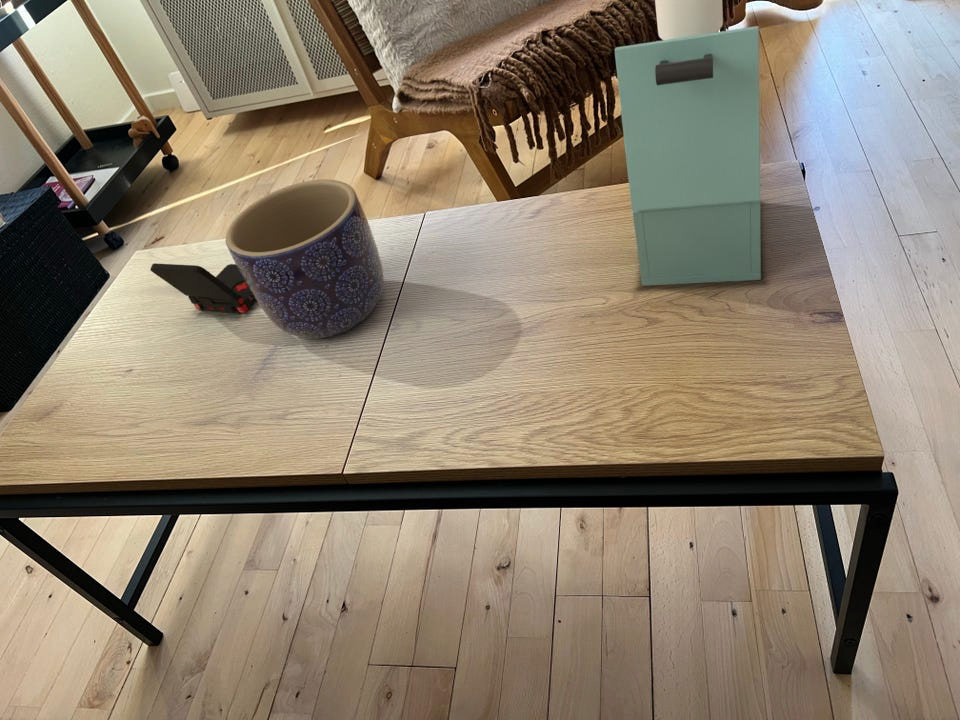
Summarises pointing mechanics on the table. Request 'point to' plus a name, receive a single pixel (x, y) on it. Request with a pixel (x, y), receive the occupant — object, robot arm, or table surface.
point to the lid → (691, 119)
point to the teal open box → (699, 243)
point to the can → (688, 17)
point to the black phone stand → (209, 287)
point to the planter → (309, 258)
